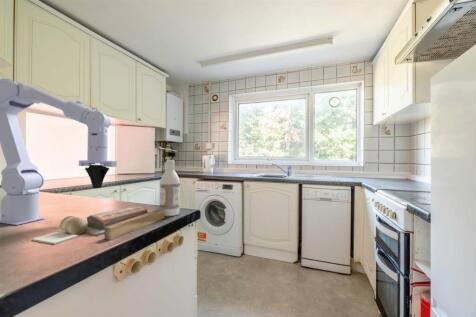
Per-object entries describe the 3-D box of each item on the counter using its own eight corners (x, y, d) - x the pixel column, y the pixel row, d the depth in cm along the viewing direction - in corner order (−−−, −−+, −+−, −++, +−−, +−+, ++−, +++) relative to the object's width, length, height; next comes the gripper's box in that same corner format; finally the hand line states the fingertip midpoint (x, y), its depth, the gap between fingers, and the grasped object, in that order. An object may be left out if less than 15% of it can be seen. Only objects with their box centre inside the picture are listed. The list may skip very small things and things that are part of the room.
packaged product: (134, 203, 80) (153, 207, 75) (133, 217, 80) (153, 222, 75) (77, 214, 65) (97, 219, 60) (77, 231, 65) (97, 238, 60)
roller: (59, 218, 61) (77, 214, 65) (60, 234, 61) (77, 229, 65) (70, 221, 59) (87, 216, 62) (70, 237, 59) (88, 232, 63)
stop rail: (104, 238, 58) (104, 227, 58) (159, 217, 79) (159, 209, 79) (110, 239, 57) (110, 228, 57) (164, 218, 78) (164, 209, 78)
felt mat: (32, 240, 56) (32, 238, 56) (56, 233, 61) (56, 231, 61) (54, 244, 54) (54, 242, 54) (78, 236, 59) (78, 235, 59)
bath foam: (156, 214, 84) (157, 160, 84) (173, 211, 89) (174, 160, 89) (165, 217, 79) (166, 160, 79) (182, 214, 84) (183, 160, 84)
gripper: (70, 147, 75) (69, 188, 75) (103, 147, 70) (103, 190, 70) (89, 148, 81) (89, 185, 81) (121, 148, 77) (121, 188, 77)
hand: (97, 187), depth 76 cm, fingers closed
